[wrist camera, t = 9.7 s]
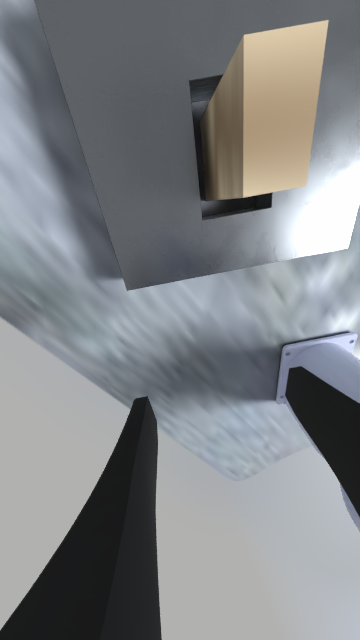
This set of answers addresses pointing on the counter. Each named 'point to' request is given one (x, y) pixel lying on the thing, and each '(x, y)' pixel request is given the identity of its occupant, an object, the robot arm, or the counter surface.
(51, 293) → the counter surface
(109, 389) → the counter surface
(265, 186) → the tan wooden beam
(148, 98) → the gray slab with hole
